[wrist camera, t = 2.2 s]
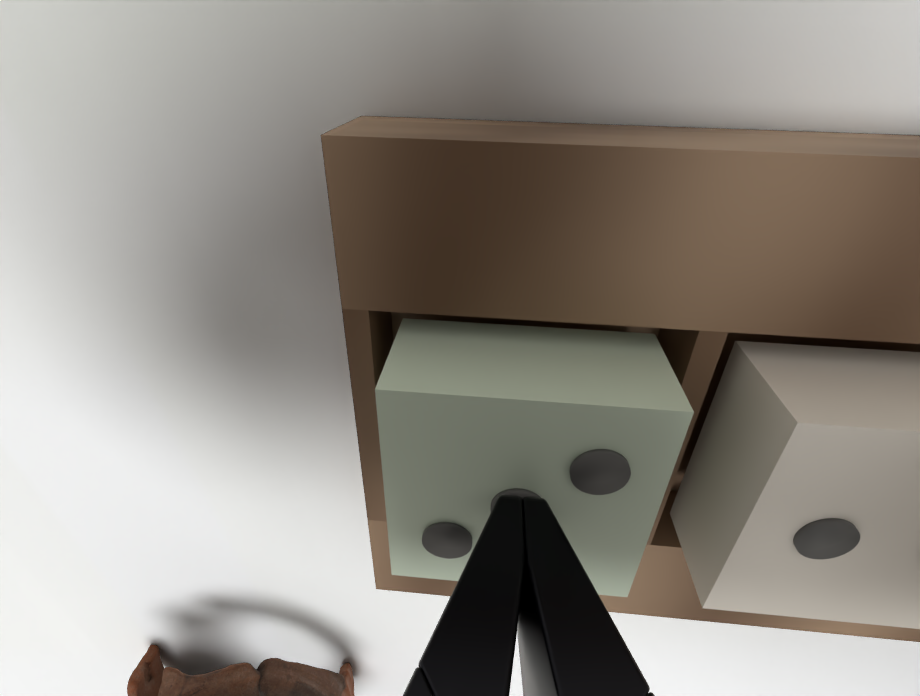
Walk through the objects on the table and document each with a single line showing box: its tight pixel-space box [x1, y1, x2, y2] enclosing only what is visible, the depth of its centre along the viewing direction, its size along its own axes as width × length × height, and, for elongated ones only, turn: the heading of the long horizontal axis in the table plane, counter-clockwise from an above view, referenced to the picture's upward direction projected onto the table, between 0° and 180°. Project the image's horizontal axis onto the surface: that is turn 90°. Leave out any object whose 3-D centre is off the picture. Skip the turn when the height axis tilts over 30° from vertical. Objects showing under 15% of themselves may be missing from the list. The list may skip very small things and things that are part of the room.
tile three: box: [375, 318, 694, 597], centre depth 10 cm, size 5×5×2 cm
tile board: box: [321, 116, 920, 642], centre depth 11 cm, size 20×12×2 cm, turn 89°
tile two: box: [670, 341, 920, 629], centre depth 9 cm, size 5×5×2 cm
